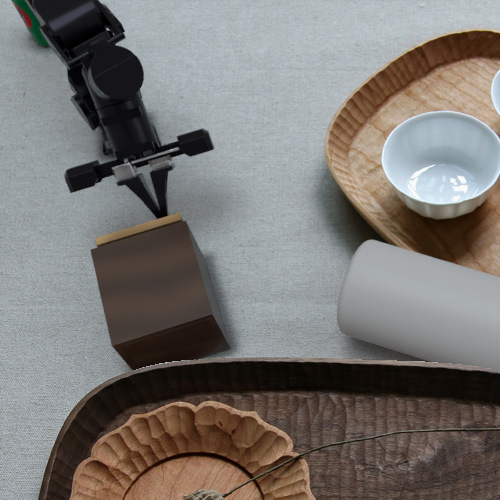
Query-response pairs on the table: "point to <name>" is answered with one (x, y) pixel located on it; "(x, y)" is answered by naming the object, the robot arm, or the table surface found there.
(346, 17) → the table surface
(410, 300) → the cylinder vase
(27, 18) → the soda can
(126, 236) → the drawer
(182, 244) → the cabinet
